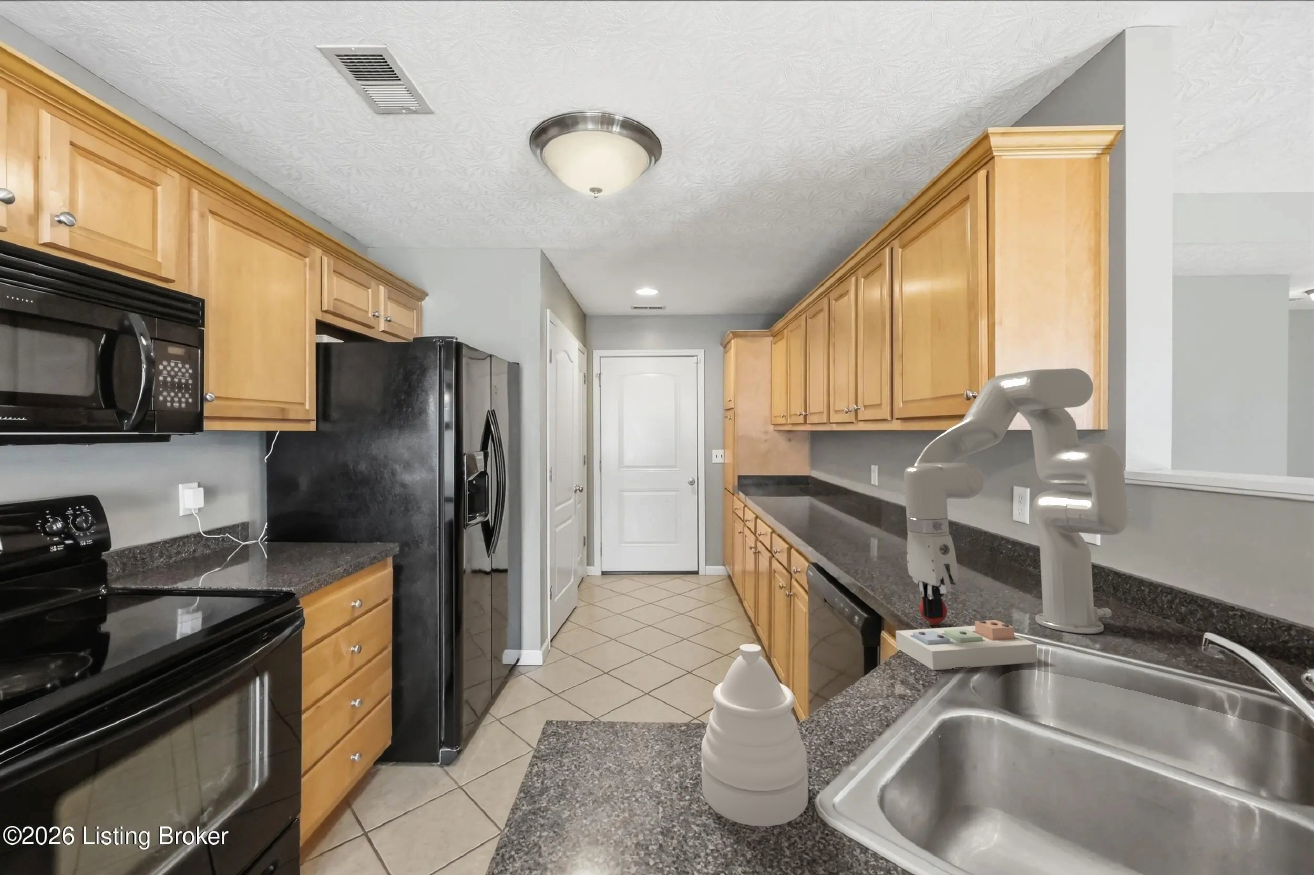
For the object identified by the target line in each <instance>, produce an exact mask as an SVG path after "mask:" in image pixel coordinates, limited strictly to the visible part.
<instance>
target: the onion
mask: <svg viewBox="0 0 1314 875" xmlns="http://www.w3.org/2000/svg"><path fill="white" fill-rule="evenodd" d="M919 603H920V604H919V606H918V607H919V612H920V615H921V617H923V618H924V620H926V622H928V623H929V624H930V625H931V626H936V625H939V624H941V623H942V622H944V620H946V618H947V615H948V609H947V605H946V603H945V602H944V601H943V600H942V607H943V617H942V618H932V619H930V618H928V617H925V616H924V615H923V599H921V601H920V602H919Z"/></svg>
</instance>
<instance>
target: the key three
mask: <svg viewBox="0 0 1314 875" xmlns="http://www.w3.org/2000/svg"><path fill="white" fill-rule="evenodd" d="M974 626H975V633H976V634H979V635H981V636H983V637H985V638H987V639H990V640H992V641H995V640H1010V639H1014V635H1015V627H1014V626H1012V625H1009V624H1007V623H1004V622H1003V621H999V620H997V619H992V620H988V619H987V620H976V621H974Z"/></svg>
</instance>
